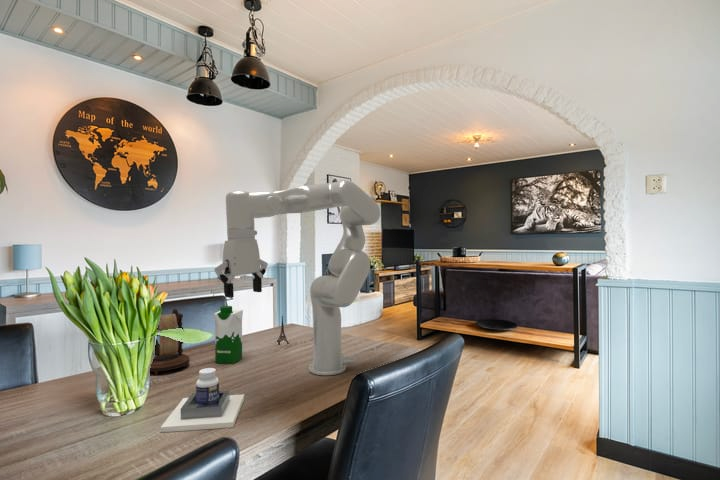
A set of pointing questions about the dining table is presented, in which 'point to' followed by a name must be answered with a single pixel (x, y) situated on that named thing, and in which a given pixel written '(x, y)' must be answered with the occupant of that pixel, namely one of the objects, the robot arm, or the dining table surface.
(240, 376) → the dining table surface
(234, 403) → the socket board
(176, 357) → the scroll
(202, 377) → the pill bottle
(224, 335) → the milk carton
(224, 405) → the socket collar
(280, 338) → the eiffel tower figurine
